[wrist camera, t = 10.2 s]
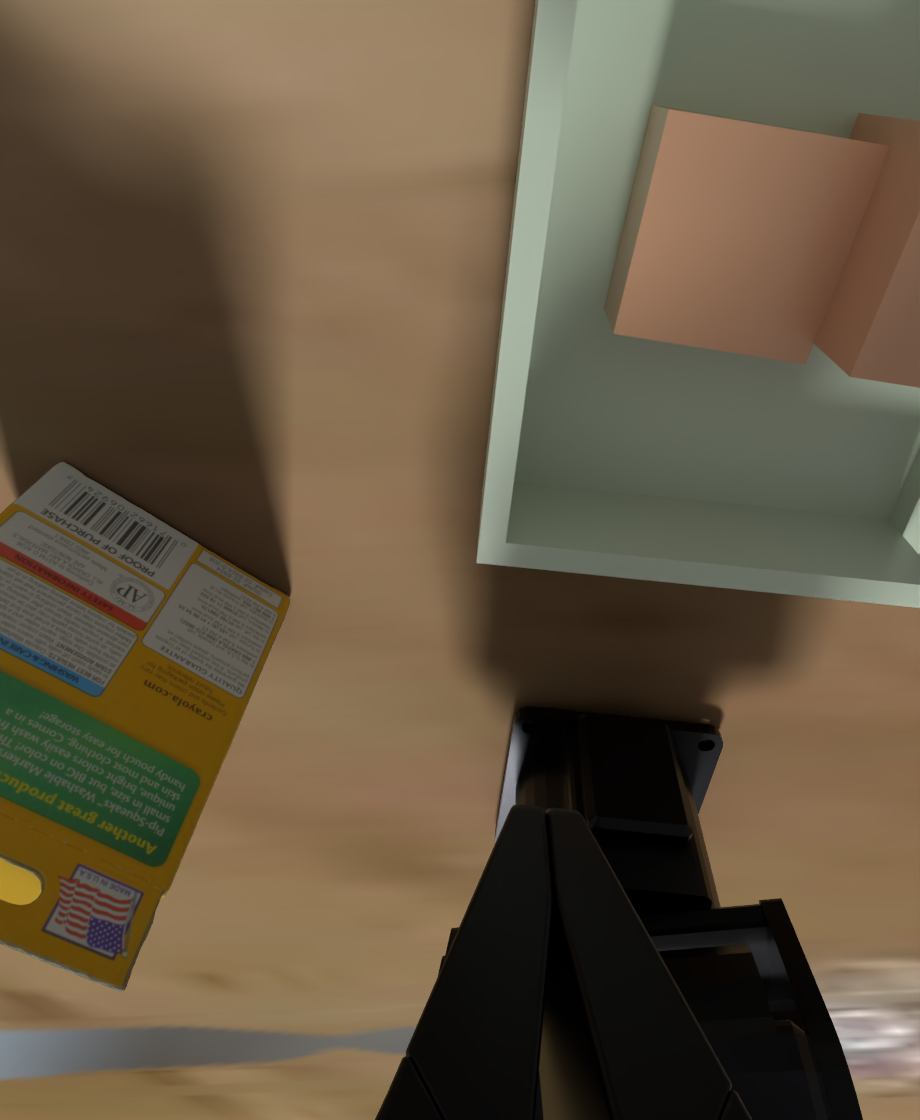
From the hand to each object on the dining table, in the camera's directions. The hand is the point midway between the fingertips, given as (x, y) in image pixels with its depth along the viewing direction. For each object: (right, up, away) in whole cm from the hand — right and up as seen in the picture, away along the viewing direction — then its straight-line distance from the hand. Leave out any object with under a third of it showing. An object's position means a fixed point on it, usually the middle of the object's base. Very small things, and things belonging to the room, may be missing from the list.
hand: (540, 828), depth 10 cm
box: (+6, +10, +7) cm, 14 cm away
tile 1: (+8, +9, +5) cm, 13 cm away
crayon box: (-10, +3, +13) cm, 17 cm away
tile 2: (+4, +9, +5) cm, 12 cm away
